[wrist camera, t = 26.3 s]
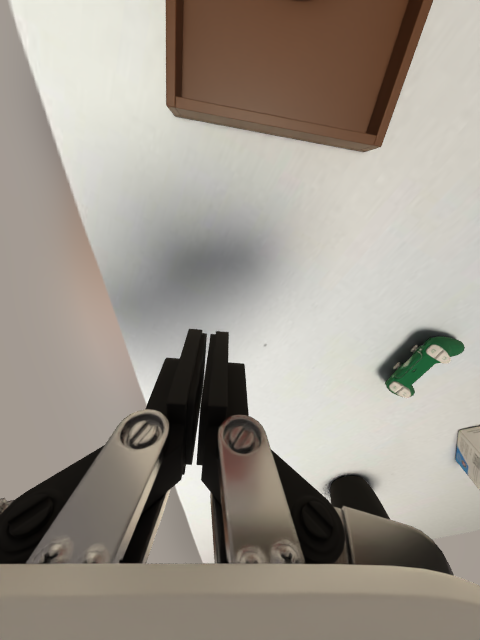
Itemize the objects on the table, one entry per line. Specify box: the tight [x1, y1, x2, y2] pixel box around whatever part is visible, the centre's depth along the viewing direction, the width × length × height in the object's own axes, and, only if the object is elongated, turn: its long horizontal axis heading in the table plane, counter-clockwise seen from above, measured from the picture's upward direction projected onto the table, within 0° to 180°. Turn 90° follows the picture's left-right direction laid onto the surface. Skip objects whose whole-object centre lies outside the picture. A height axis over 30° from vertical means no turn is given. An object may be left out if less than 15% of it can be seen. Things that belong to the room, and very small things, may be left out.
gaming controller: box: [385, 336, 465, 398], centre depth 28 cm, size 9×4×6 cm
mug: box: [330, 476, 390, 520], centre depth 40 cm, size 12×9×10 cm
